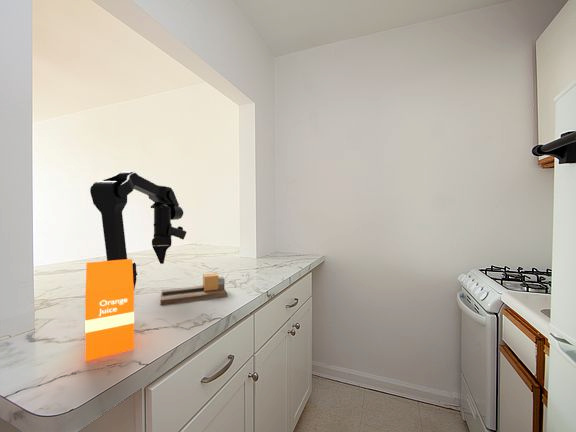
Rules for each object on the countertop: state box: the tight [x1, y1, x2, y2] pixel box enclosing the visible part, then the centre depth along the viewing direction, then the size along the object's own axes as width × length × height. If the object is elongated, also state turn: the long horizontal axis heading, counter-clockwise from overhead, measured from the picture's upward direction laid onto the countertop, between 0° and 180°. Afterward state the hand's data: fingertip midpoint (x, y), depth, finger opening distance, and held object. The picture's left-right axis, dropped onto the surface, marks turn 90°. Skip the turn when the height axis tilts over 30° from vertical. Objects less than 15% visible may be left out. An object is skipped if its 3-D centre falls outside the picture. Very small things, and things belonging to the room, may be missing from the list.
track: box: [160, 276, 228, 306], centre depth 97 cm, size 12×22×6 cm, turn 115°
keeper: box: [202, 272, 219, 291], centre depth 99 cm, size 4×5×5 cm
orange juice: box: [84, 258, 135, 362], centre depth 60 cm, size 8×9×20 cm
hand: (162, 261), depth 99 cm, fingers open, 9 cm apart
